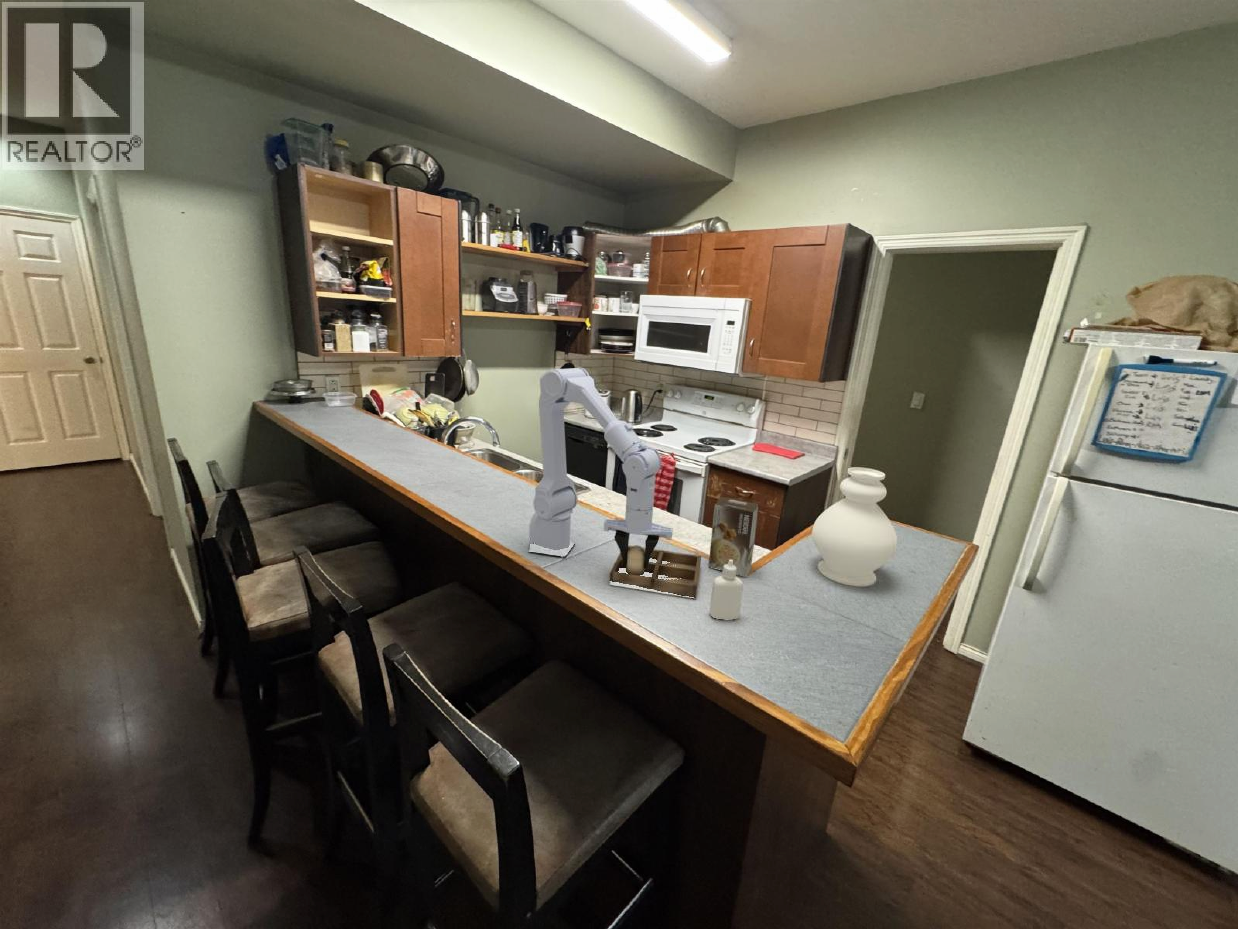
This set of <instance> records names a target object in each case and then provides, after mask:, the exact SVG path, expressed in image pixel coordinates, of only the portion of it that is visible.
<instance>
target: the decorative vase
mask: <svg viewBox="0 0 1238 929" xmlns="http://www.w3.org/2000/svg"><path fill="white" fill-rule="evenodd" d="M847 474H848V475H849V476H848V477H846V478H844V479H843V480H842V481H841V483H840V484H839V489H840V491H841V493H842V495H844V496H845V497H844V498H842V499H840V500H838V501H836V502H835V503H833V504H832V505H831V506H830V505H829V507H828V508H826V509H825V510H824V511H823V512H821V514H820V515H819V516H818V517H817V518H816V520H815V521H814V524H813V526H812V530H811V535H812V536H811V537H812V541H813V544H814V546H815V547H816V549H817V551H818V553H819V554H820V556H821V557H822V560H821V561H819V562H818V565H817V568H818V571H819V572H820V574H822V575H823V576H824V577H826V578H827V579H829V580H831V581H834V582H835V583H838V584H842V585H846V586H850V587H861V588H862V587H864V588H865V587H868V586H869V587H870V586H872V585H874V584H875V583H876V581H877V575H876V573H875V572H874V571H876V570H878V569H879V568H880V567H883V566H884V565H886V564H887V563H888V562H889V561H891V560H892V559H893V557H895V555H896V552H897V548H898V536H897V533H896V530H895V528H894V526H893V524H892V523H891V520H890V519H889V518H888V516H887V514H885V512H884V511H883V510H882V508H881V507H880V506H879V504H878V503H879V502H881V501H882V500H884V499H885V498H886V497H887V488H886V487H885V485H884V483H882V482H881V481H883V480H885V479H886V474H885V473H884V472H883V471H880V470H878V469H873V468H868V467H858V466H854V467H852V466H851V467H848V468H847Z"/></svg>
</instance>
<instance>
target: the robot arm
mask: <svg viewBox="0 0 1238 929" xmlns="http://www.w3.org/2000/svg"><path fill="white" fill-rule="evenodd" d="M539 385H540V386H539V388H540V394H539V400H538V411H539V412H538V413H539V426H540V428H539V429H540V444H541V459H542V473H543V476H542V478H541V480H540V481H539V482H538V484H537V485H536V486H535V488H534V489H535V492H534V493H535V494H534V498H533V501H532V502H533V509H534V511H535V512H534V513H533V514H532V516H531V517H530V522H529V536H528V537H529V539H528V540H529V545H530V544H534V543H535V544H536V545H539V546H542V547H544V548H549V549H553V550H560V549H564V548H568V547H569V545H570V542H571V516H572V514H573V509H575V508H576V506H577V505H578V501H579V500H578V494H577V492H576V488H575V482H574V480H573V479H572V478H570V476H568V474H567V470H568V469H567V453H566V452H567V451H566V450H567V448H566V436H565V434H566V433H565V416H564V415H565V414H564V410H565V409H566V408H567V407H568V406H569V405H570V404H571V403H576V404H580V405H582V407H583V408H584V409H585V410H586V411H587V412H588V413H589V414H590V416H592V417H593V418H594V420H595V421H596V422H597V423H598V424H599V426H601V428H602V429H603V430H604V434H603V436H604V438H603V439H604V440H605V441H606V443H607V444H608V445H609V447H610V448H611V449H612V450H613V451H614V453H615V454H616V455H617V456H618V458H619V459H620V460H621V461H622V462H623V463H622V464H621V466H622V467H621V468H622V471H623V474H624V475H625V478H626V479H625V483H626V495H625V496H626V498H625V500H626V501H625V516H624V517H625V519H605V521H604V522H603V531H604V532H609V531H610V532H611V531H612V532H615V534H614V536H613V537H614V541H615V543H616V545H617V546H618V550H619V552H621V556H622V561H623V565H626V564H627V552H628V545H629V544H630V543H629V542H630V535H638V536H639V535H642V536H647V537H646V538H645V543H644V544H645V546H644V548H645V560H644V568H647V567H648V564H649V559H650V556H651V554H652V552H653V550H654V549H655V548H656V547H657V545H658V544H659V543H658V542H659V539H661V538H663V539H665V540H667V541H671V540H672V539H673V531H674V529H673V528H672V527H668V526H663V525H659V524H656V523H653V517H654V516H653V513H654V500H655V488H656V474H657V473H659V472H660V470H661V468H662V464H663V463H662V458H661V456H660V454H659V452H658V450H657V449H656V448H653V447H651V446H648V445H647V444H646V443H645V442H643V441H642V440H641V439H640V437H639V436H638V435H637V433H636V432H635V431H634V430H633V429H634V427H633V425H632V423H630V422H627V421H625V420H619V419H617V417H616V416H615V414H614V413H613V411H612V410H611V409H610V408H611V407H609V405H608V404H607V403H606V401H605V400H604V398H603V397H602V395H601V394H600V392H599V391H598V390H597V388H596V387H595V386H596V385H595V379H594V378H593V377H591V376H590V374H589V372H588V371H587V370H586V369H585V368H583V367H579V366H577V367H574V368H571V367H570V368H559V369H558V368H551V369H548V370H546V372H545V373H544V374H543V375H542V376H541V377H540V378H539Z"/></svg>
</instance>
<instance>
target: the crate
mask: <svg viewBox="0 0 1238 929" xmlns="http://www.w3.org/2000/svg"><path fill="white" fill-rule="evenodd" d="M632 546H633V545H629V544H628V550H629V548H630V547H632ZM641 547H642V546H641ZM642 548H643V549H644V550H645V547H642ZM619 552H620V551H619ZM650 558H652V559H656V560H657V562H656V563H653V562H649V564H648V567H647V568H645V571H644V572H649V573H653V574H652V577H645V576H638V575H632V574H626V573H619V572H618V571H619V568H626V565H623V561H622V556H621V552H620V553H619V554H618V556H617V558H616V560H615V562H614V564H613V566H612V568H611V570H610V571H609V581H612V582H619V583H623V584H629V585H636V586H639V587H643V588H647V589H654V590H657V591H661V592H668V593H673V594H677V595H681V596H689V597H694V598H696V599H697V592H698V587H699V586H698V585H699V580H700V571H701V562H702V555H698V554H697V555H696V554H689V553H682V552H675V551H670V550H665V549H664V550H661V549H655V548H654V550H653V552H652V554H651V556H650ZM662 561H667V562H670V563H667V564H662ZM673 565H674V566H673ZM675 565H676V566H675ZM658 575H665V576H668V577H666V578H677V579H678V580H677V579H674V580H673V579H671V580H669V579H668V580H667V579H666V580H664V579H658ZM661 578H662V577H661ZM664 578H665V577H664ZM680 578H681V579H680ZM698 579H699V580H698Z"/></svg>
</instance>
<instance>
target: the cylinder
mask: <svg viewBox="0 0 1238 929" xmlns="http://www.w3.org/2000/svg"><path fill="white" fill-rule="evenodd" d="M631 546H632V547H630V548H629V550H628V552H627V564H626V572H627V573H628V574H632V575H638V576H640V575H643V574H644V571H645V568H644V560H645V550H644V549H643V548H644V547H643V548H642V546H641V545H637V544H635V545H631Z"/></svg>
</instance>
